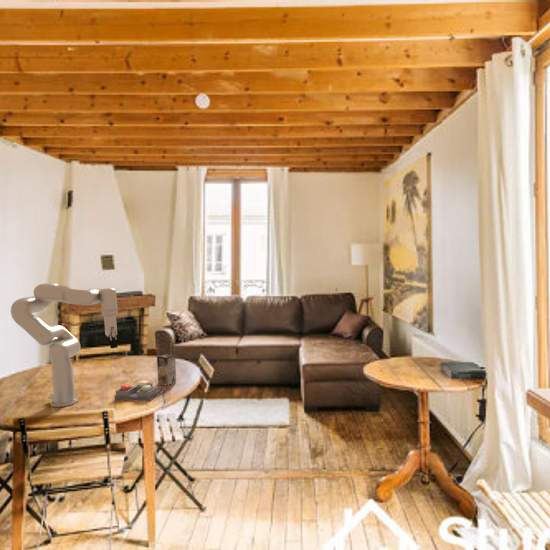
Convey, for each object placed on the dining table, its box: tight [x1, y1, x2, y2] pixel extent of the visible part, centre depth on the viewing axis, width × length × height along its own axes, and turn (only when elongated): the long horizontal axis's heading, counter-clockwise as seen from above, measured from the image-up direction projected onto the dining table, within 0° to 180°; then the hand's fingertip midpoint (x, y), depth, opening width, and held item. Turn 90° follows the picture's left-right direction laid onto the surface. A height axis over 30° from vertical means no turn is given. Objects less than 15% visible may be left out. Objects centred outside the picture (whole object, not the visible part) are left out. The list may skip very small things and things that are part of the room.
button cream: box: [137, 380, 149, 386], centre depth 213 cm, size 5×5×2 cm
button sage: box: [141, 385, 151, 391], centre depth 205 cm, size 5×5×2 cm
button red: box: [120, 384, 131, 391], centre depth 207 cm, size 5×5×2 cm
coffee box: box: [156, 353, 177, 386], centre depth 228 cm, size 9×6×16 cm
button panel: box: [114, 382, 165, 402], centre depth 210 cm, size 20×15×4 cm
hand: (113, 346), depth 200 cm, fingers open, 9 cm apart
